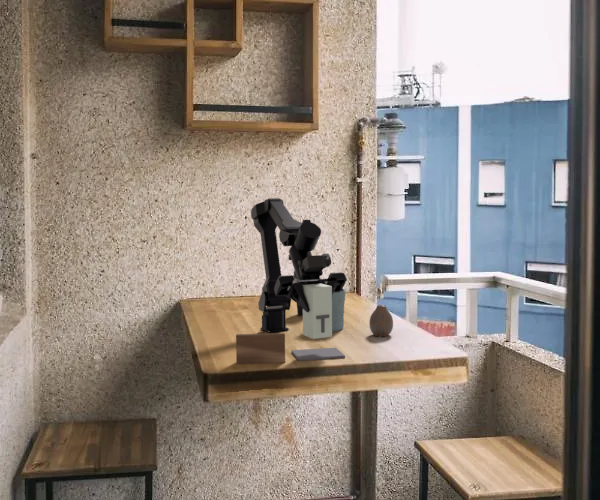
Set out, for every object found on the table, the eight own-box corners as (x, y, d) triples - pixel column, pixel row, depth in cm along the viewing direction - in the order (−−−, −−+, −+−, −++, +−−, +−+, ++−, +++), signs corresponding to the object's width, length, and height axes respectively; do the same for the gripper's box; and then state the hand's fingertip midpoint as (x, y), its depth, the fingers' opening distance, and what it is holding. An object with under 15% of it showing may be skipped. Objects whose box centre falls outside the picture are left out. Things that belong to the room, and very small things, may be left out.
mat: (335, 349, 179) (335, 347, 179) (345, 357, 170) (345, 355, 170) (291, 352, 177) (291, 350, 177) (298, 360, 168) (298, 358, 168)
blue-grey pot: (322, 333, 200) (321, 293, 199) (307, 327, 209) (306, 288, 208) (351, 329, 205) (351, 290, 203) (335, 323, 214) (335, 286, 213)
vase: (378, 338, 192) (378, 308, 191) (364, 334, 198) (364, 304, 197) (397, 336, 195) (398, 306, 194) (384, 331, 201) (384, 302, 201)
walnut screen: (236, 362, 167) (236, 334, 167) (284, 360, 168) (284, 333, 167) (236, 363, 166) (236, 335, 165) (285, 362, 166) (284, 334, 166)
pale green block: (302, 334, 174) (302, 285, 173) (321, 332, 177) (320, 283, 176) (313, 339, 169) (313, 288, 168) (332, 336, 172) (332, 286, 171)
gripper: (277, 244, 171) (292, 294, 162) (344, 242, 178) (362, 289, 169) (267, 271, 179) (282, 320, 170) (332, 268, 186) (349, 314, 177)
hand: (319, 310), depth 171 cm, fingers closed on pale green block, 6 cm apart
